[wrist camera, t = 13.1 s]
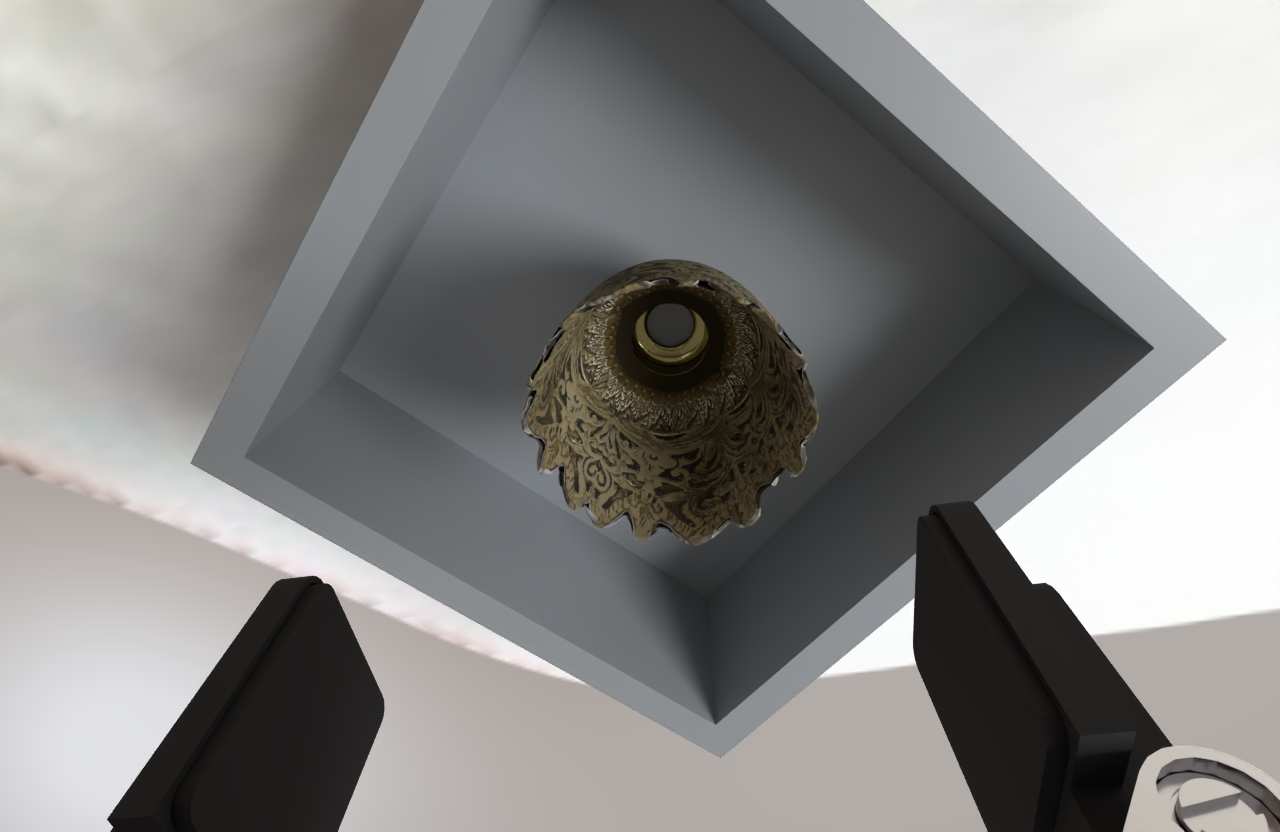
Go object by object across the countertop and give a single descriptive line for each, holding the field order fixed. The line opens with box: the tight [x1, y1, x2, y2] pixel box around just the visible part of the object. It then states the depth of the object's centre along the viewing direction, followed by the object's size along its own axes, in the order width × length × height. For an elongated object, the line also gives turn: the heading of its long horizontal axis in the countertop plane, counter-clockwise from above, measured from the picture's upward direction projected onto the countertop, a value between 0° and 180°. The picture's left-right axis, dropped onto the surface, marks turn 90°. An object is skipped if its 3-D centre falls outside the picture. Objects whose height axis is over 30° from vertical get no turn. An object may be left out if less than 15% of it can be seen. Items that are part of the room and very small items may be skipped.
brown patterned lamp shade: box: [521, 259, 819, 546], centre depth 21 cm, size 8×7×8 cm
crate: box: [191, 0, 1227, 758], centre depth 22 cm, size 20×20×8 cm
